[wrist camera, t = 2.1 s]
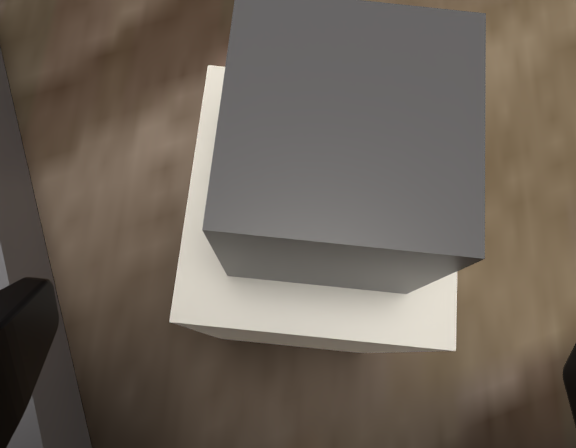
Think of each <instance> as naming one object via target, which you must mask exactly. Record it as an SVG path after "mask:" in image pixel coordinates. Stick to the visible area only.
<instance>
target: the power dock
mask: <svg viewBox="0 0 576 448" xmlns="http://www.w3.org/2000/svg"><path fill="white" fill-rule="evenodd" d="M24 277H37V278H46V279H49V280H50V281H52V283H53V286H54V290H55V296H56V301H57V306H58V312H59V325H58V329H57V332H56V335H55V337H54V340H53V342H52V345H51V348H50V350H49V353H48V355H47V358H46V360H45V363H44V366H43V368H42V371H41V373H40V376H39V378H38V381H37V384H36V386H35V389H34V391H33V394H32V396H31V399H30V401H29V404H28V406H27V408H26V411H25V413H24V415H23V417H22V419H21V421H20V423H19V425H18V427H17V429H16V431H15V432H14V434H13V436H12V438H11V440H10V442H9V444H8V446H7V448H92V446H91V441H90V437H89V433H88V428H87V424H86V419H85V415H84V411H83V406H82V402H81V398H80V393H79V389H78V384H77V380H76V376H75V371H74V367H73V363H72V358H71V354H70V349H69V345H68V341H67V336H66V332H65V328H64V323H63V319H62V315H61V310H60V306H59V301H58V297H57V293H56V288H55V284H54V280H53V275H52V271H51V266H50V262H49V258H48V253H47V249H46V245H45V240H44V236H43V231H42V227H41V223H40V218H39V214H38V210H37V205H36V201H35V196H34V192H33V188H32V183H31V179H30V175H29V170H28V166H27V162H26V157H25V153H24V148H23V144H22V140H21V135H20V131H19V127H18V122H17V118H16V113H15V109H14V105H13V100H12V96H11V92H10V87H9V83H8V78H7V74H6V70H5V65H4V61H3V57H2V52H1V48H0V290H1V289H3V288H5V287H7V286H8V285H10V284H12V283H14V282H16V281H18V280H20V279H22V278H24Z"/></svg>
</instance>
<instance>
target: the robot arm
mask: <svg viewBox="0 0 576 448" xmlns="http://www.w3.org/2000/svg"><path fill="white" fill-rule="evenodd" d="M58 325H59V312H58V306H57V301H56V296H55V290H54V286H53V283H52V281H50V280H49V279H46V278H37V277H24V278H22V279H20V280H18V281H16V282H14V283H12V284H10V285H8V286H7V287H5V288H3V289H1V290H0V448H7V446H8V444H9V442H10V440H11V438H12V436H13V434H14V432H15V431H16V429H17V427H18V425H19V423H20V421H21V419H22V417H23V415H24V413H25V411H26V408H27V406H28V404H29V401H30V399H31V396H32V394H33V391H34V389H35V386H36V384H37V381H38V378H39V376H40V373H41V371H42V368H43V366H44V363H45V360H46V358H47V355H48V353H49V350H50V348H51V345H52V342H53V340H54V337H55V335H56V332H57V329H58ZM563 381H564V385H565V389H566V393H567V396H568V400H569V404H570V408H571V411H572V415H573V419H574V423H575V426H576V344H575V346H574V348H573V350H572V352H571V353H570V355H569V357H568V359H567V361H566V363H565V365H564V369H563Z"/></svg>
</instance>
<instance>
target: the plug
mask: <svg viewBox="0 0 576 448" xmlns="http://www.w3.org/2000/svg"><path fill="white" fill-rule="evenodd" d="M485 43H486V13H476V12H467V11H457V10H448V9H438V8H429V7H419V6H410V5H400V4H391V3H381V2H372V1H362V0H235V2H234V9H233V16H232V23H231V30H230V38H229V45H228V52H227V59H226V66H225V67H220V66H211V65H208V69H207V75H206V82H205V89H204V95H203V102H202V108H201V115H200V122H199V128H198V135H197V141H196V148H195V155H194V161H193V168H192V174H191V181H190V188H189V194H188V201H187V208H186V214H185V221H184V227H183V234H182V241H181V247H180V254H179V260H178V267H177V274H176V280H175V287H174V293H173V300H172V307H171V313H170V320H169V322H170V323H173V324H176V325H180V326H183V327H186V328H189V329H192V330H195V331H198V332H201V333H204V334H207V335H210V336H213V337H216V338H219V339H226V340H236V341H246V342H256V343H266V344H276V345H286V346H296V347H306V348H316V349H326V350H336V351H346V352H356V353H393V352H435V351H456V315H457V271H459V270H461V269H463V268H465V267H468V266H470V265H472V264H474V263H476V262H479V261H481V260H483V259H485Z"/></svg>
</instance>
